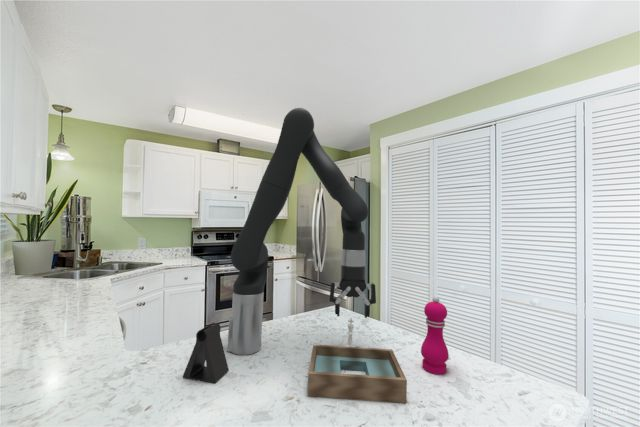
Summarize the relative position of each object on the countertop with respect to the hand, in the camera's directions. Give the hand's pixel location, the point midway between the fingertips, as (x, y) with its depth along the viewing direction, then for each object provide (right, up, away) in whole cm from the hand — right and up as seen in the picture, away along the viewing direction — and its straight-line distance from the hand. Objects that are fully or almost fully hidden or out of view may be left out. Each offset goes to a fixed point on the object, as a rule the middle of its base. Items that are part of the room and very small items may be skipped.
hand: (352, 316), depth 89 cm
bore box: (-1, -10, -17) cm, 20 cm away
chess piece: (-1, -11, 0) cm, 11 cm away
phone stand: (-39, -9, -17) cm, 43 cm away
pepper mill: (+22, -12, -9) cm, 26 cm away
